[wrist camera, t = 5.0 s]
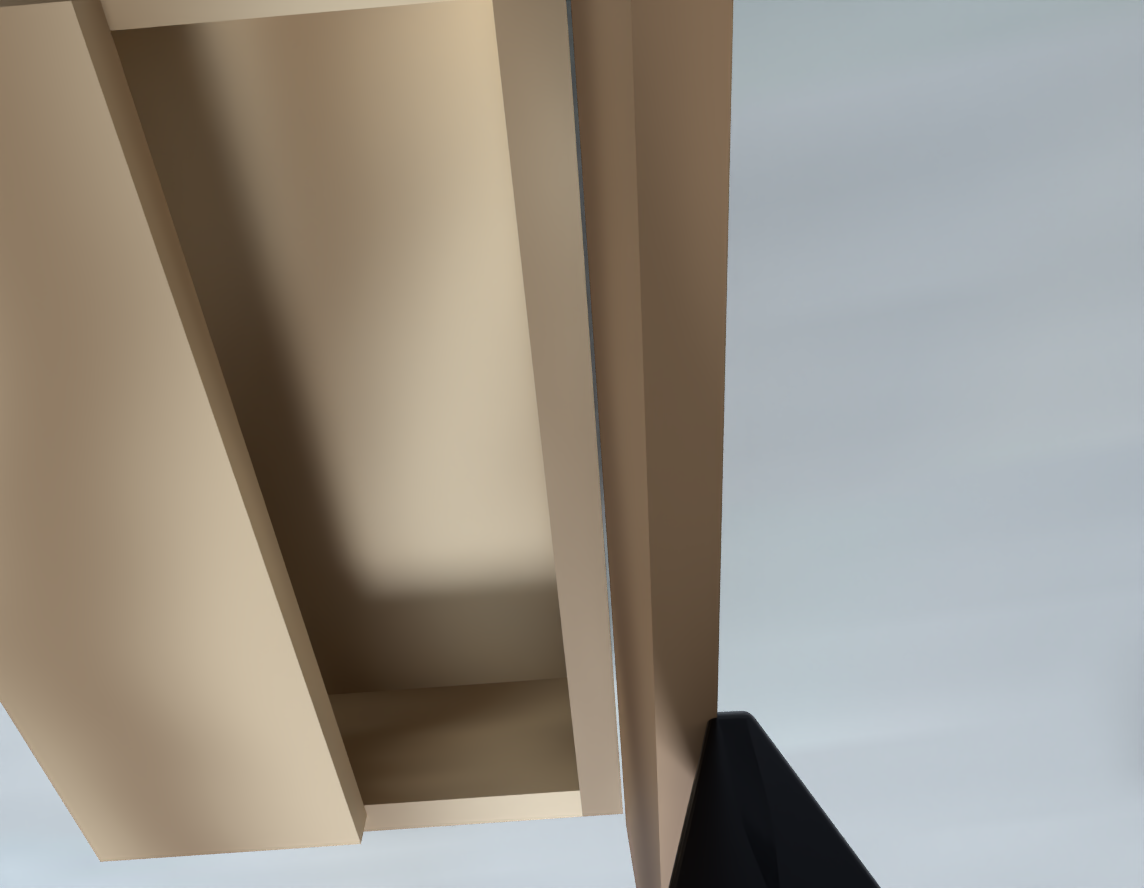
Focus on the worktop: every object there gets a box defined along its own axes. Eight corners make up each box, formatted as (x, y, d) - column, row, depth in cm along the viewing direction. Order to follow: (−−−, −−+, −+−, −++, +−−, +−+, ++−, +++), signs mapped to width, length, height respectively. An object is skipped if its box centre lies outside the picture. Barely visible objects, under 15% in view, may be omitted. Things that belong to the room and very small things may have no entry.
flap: (566, -45, 8) (626, -50, 8) (626, 825, 15) (657, 821, 15) (629, -66, 4) (734, -75, 4) (667, 1085, 11) (708, 1079, 11)
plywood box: (557, -78, 11) (559, -104, 8) (611, 679, 19) (625, 842, 15) (-138, -15, 11) (-447, -14, 8) (191, 709, 19) (110, 877, 15)
